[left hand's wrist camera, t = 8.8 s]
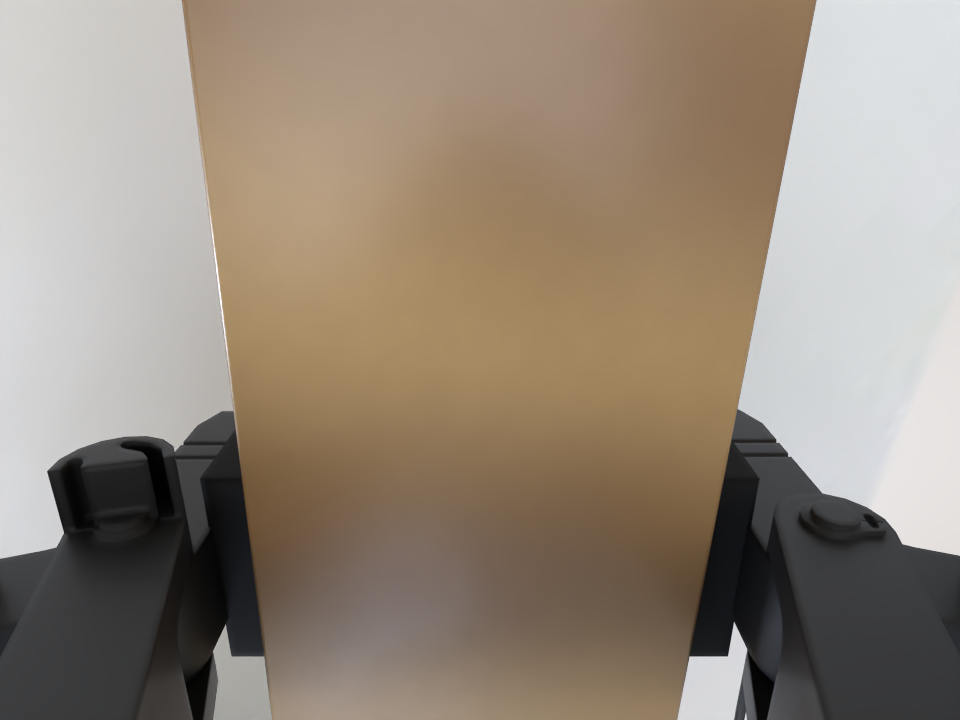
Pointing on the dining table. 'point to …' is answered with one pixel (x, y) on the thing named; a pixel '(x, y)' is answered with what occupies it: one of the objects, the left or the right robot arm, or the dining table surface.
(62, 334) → the dining table surface
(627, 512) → the beam
